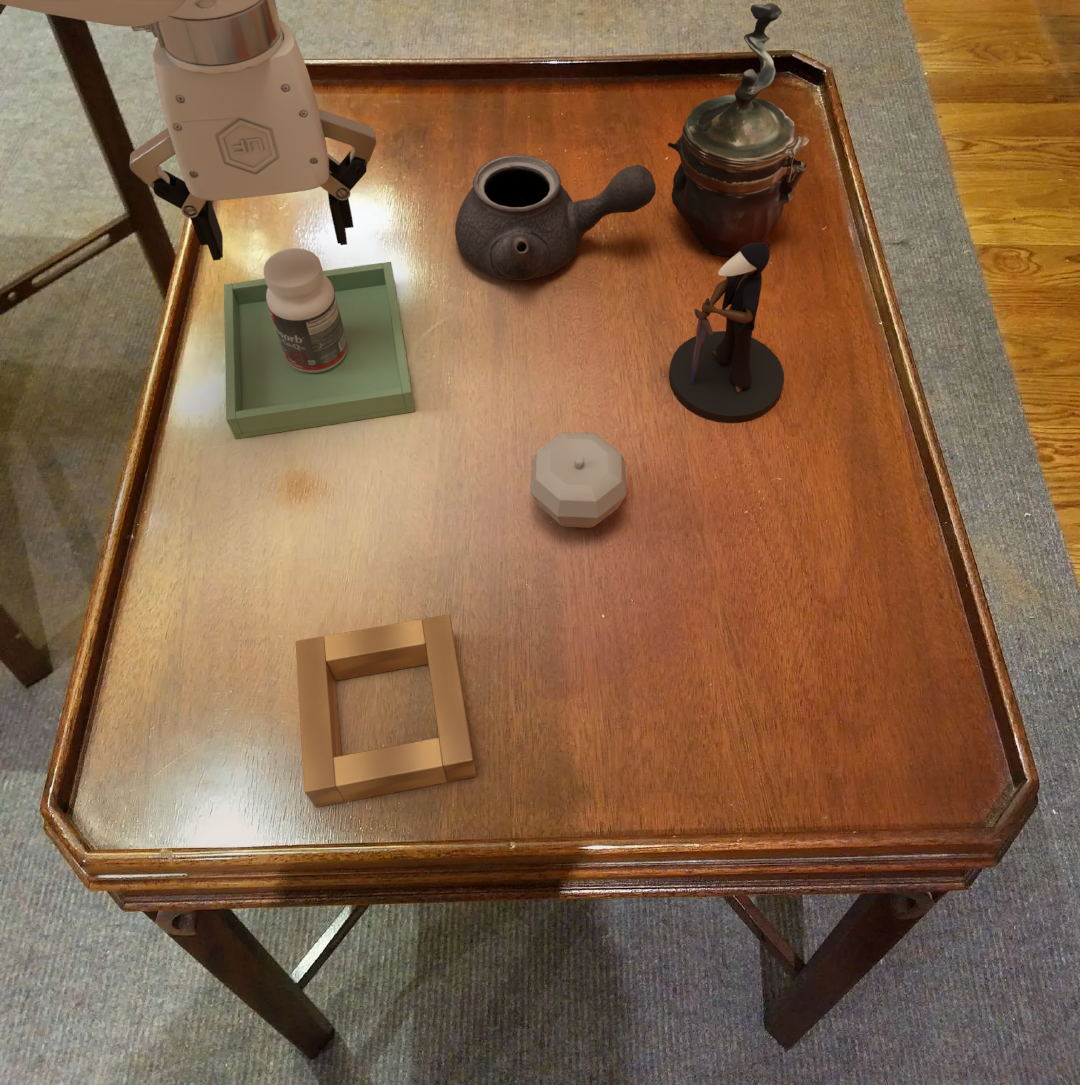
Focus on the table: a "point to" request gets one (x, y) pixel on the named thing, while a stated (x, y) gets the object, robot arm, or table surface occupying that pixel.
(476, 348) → the table surface
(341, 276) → the tray
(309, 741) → the holder
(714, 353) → the figurine
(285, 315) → the pill bottle
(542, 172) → the teapot
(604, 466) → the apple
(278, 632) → the table surface
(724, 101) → the coffee grinder
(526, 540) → the table surface
